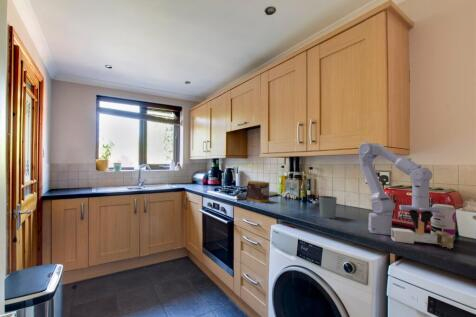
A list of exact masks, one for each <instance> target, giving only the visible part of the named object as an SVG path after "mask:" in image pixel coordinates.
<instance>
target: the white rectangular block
mask: <svg viewBox="0 0 476 317" xmlns="http://www.w3.org/2000/svg"><path fill="white" fill-rule="evenodd" d="M392 230H393V231H394V238H393V237H392ZM414 232H415V231H413V230H411V229H408V228H407V229H406V228H399V227H397V228H396V227H392V228H391V235H390V237H391V240H392V241H393V242H398V243H407V244H413V245H414V244H415V241H414Z"/></svg>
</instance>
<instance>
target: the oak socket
mask: <svg viewBox="0 0 476 317" xmlns="http://www.w3.org/2000/svg"><path fill="white" fill-rule="evenodd" d="M436 236H437V244H436V245H438V244H439V246H440V247H441V246H442V247H441V248H443V247H447V248H446V249H451V248H453V249H454V240H453V236H452V235H450V234H448V233H447V232H442V231H436Z"/></svg>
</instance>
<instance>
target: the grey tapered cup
mask: <svg viewBox="0 0 476 317" xmlns="http://www.w3.org/2000/svg"><path fill="white" fill-rule="evenodd" d="M337 200H338V197H337V196H332V195H331V196H330V195H319V196H318V202H319V203H318V204H319V216H320V218H324V219H330V218H332V219H336V211H337Z"/></svg>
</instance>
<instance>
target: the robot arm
mask: <svg viewBox="0 0 476 317" xmlns="http://www.w3.org/2000/svg"><path fill="white" fill-rule="evenodd" d="M357 152H358V154H359V155H358V158H359V159H358V162H359V166H360V168H361V171H362V173H363V176H364V178H365V182H366V183H367V186H368V189H369V191H370V193H371V197H370V202H371V205H370V207H371V210H372V211H373V212H369V213H368V228H367V229H368V231H369V232H370V233H371V234H379V235H387V236H388V235H389V236H391V228H393V227H392V225H393V223H392V222H393V212H394V211H395V210H396V205H395V202H394V201H393V200H392V199H391V198H390V196H389V195H388V194H387V193H386V192H385V190H384V188H383V186H382V183H381V181H380V179H379V176H378V173H377V172H376V169H375V167H374V164H373V162H374V160H375V159H376V158H377V157H379V156H380V157H383V158H385V159H387V160H389V161H390V162H391V163H394V164H395V167H396V169H398V170H399V171H400V172H403V173H404V174H406V175H407V176H409V178H410V179H411V181H412V184H411V185H412V187H411V190H412V191H411V193H412V194H411V205H408V204H406V205H404V204H399V210H400V211H408V214H409V215H410V217H411V220H412V223H413V228H414V229H415V230H416V229H418V221H419V218H420V216H421V221H423V222H424V231H425V230H426V229H427V227H428V223H429V222H430V221H431V217H432V216H433V214H432V212H433V213H442V209H441V208H434V207H432V206H431V207H430V180H431V179H432V178H433V173H432V171H431V169H429V168H427V167H422V165H421V164H418V163H417V162H414V161H412V158H410V157H405V156H403V157H400V156H399V155H397V154H396V153H394V152H392V151H391V150H389V149H388V148H386V147H385V146H383V145H381V144H379V143H378V142H377V143H376V142H373V143H371V142H362V143H360V144H359V147H358V149H357ZM419 212H420V213H419Z"/></svg>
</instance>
